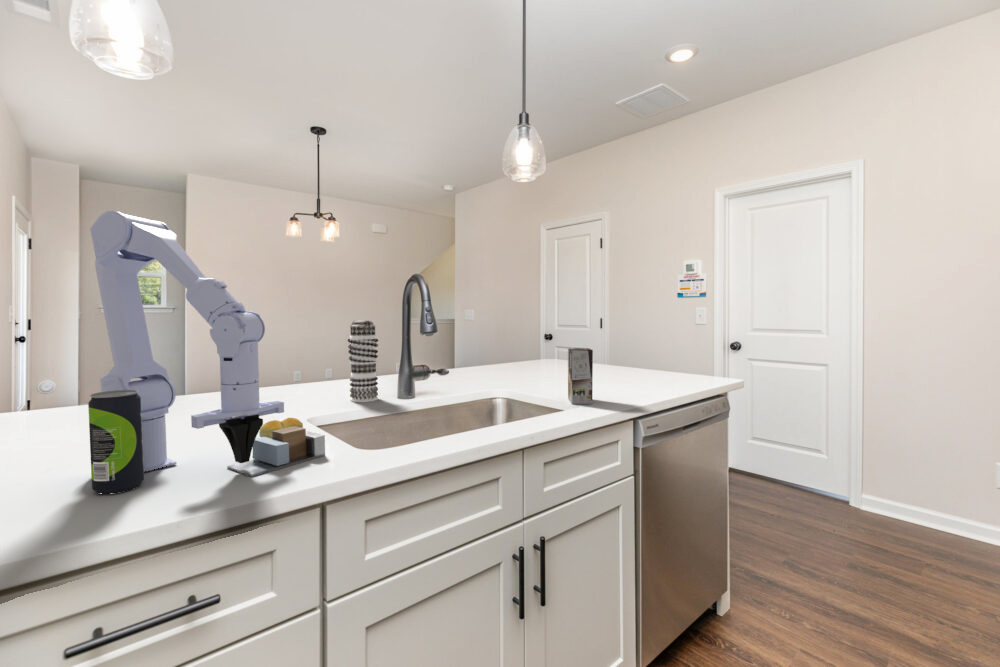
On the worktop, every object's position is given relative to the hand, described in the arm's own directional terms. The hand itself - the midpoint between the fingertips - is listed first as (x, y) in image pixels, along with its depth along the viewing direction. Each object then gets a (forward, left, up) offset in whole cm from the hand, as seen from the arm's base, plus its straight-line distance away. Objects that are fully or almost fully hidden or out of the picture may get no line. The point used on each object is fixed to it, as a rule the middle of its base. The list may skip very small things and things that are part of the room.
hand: (242, 461), depth 79 cm
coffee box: (+89, -23, -2) cm, 92 cm away
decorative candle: (+56, +36, -2) cm, 67 cm away
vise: (+6, 0, -2) cm, 7 cm away
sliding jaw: (+5, 0, -2) cm, 5 cm away
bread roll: (+18, +17, -2) cm, 24 cm away
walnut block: (+9, 0, -1) cm, 9 cm away
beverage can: (-15, +8, -2) cm, 17 cm away
